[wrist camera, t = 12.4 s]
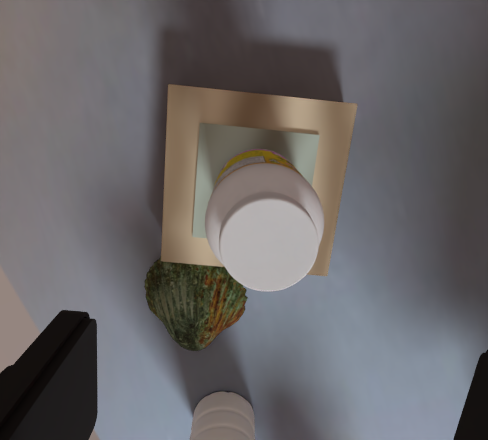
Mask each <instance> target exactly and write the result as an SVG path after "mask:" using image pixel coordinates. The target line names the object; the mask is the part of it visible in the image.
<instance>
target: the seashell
mask: <svg viewBox="0 0 488 440" xmlns="http://www.w3.org/2000/svg"><path fill="white" fill-rule="evenodd" d="M145 289H146V299H147V302H148V305H149V308H150V310H151V311H152V312H153V313H154V314H155V315H156V316H157V317H158V318H159V319H160V320H161V321H162V322H163V323H164V325H165V327H166V328H167V330H168V332H169V334H170V335H171V337H172V338H173V339H174V340H175V341H176V342H177V343H178V344H179V345H180V346H181V347H183V348H185V349H188V350H192V351H198V350H202V349H204V348H206V347H207V346H208V345H209V344H210V343H211V342H212V341H213V340H214V339H215V338H216V336H217V335H218V334H219V333H220V332H222V331H223V330H224V329H226V328H228V327H230V326H231V325H233V324H234V323H235V322H237V321H238V320H239V318H240V317H241V316H242V314H243V313H244V311H245V306H244V305H245V302H246V300H247V297H246V296H245V293H246V289H245V288H243V285H242V284H240V283H239V282H238V281H236V280H235V279H234V278H233V277H232V276H231V275H230V274H229V272H228V271H227V269H226V268H225V267H219V266H208V265H197V264H185V263H174V262H163V261H161V257H160V259H159V260H157V261H156V262H154V265H153V266H152V267H151V268H150V271H149V272H147V279H146V280H145Z"/></svg>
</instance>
